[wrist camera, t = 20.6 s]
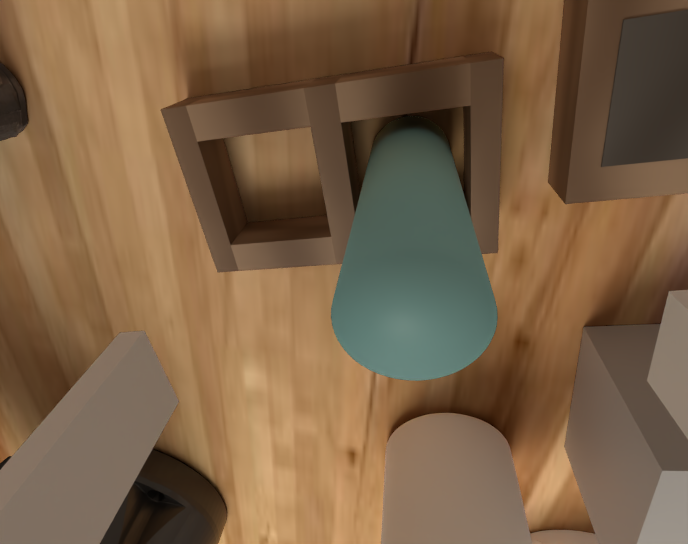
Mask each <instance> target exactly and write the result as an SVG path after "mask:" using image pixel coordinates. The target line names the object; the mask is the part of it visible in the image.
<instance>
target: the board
mask: <svg viewBox="0 0 688 544" xmlns="http://www.w3.org/2000/svg"><path fill="white" fill-rule="evenodd" d="M548 183H549V184H550V185H551V187H552V188H553V189H554V190H555V192H556V193H557V194H558V195H559V197H560V198H561V199H562V200H563V202H564V203H565V204H571V203H583V202H594V201H606V200H617V199H628V198H640V197H651V196H663V195H674V194H685V193H688V0H564V9H563V20H562V32H561V43H560V54H559V65H558V76H557V88H556V99H555V110H554V121H553V132H552V143H551V155H550V166H549V177H548Z"/></svg>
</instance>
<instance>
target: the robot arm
mask: <svg viewBox="0 0 688 544" xmlns="http://www.w3.org/2000/svg"><path fill="white" fill-rule="evenodd" d="M647 381H648V383H649V384H650V386H651V387H652V389H653V390H654V392H655V393H656V394H657V396H658V397H659V399H660V400H661V402H662V403H663V404H664V406H665V407H666V409H667V410H668V412H669V413H670V415H671V416H672V417H673V419H674V420H675V422H676V423H677V425H678V426H679V427H680V429H681V430H682V432H683V433H684V435H685V436H686V437H687V439H688V290H677V291H669V293H668V297H667V301H666V305H665V309H664V313H663V317H662V321H661V325H660V329H659V333H658V337H657V342H656V346H655V350H654V354H653V358H652V362H651V366H650V370H649V374H648V378H647ZM178 402H179V400H178V398H177V396H176V394H175V392H174V390H173V388H172V386H171V384H170V382H169V380H168V378H167V376H166V374H165V372H164V370H163V368H162V366H161V364H160V362H159V360H158V357H157V355H156V353H155V351H154V349H153V347H152V345H151V343H150V341H149V339H148V337H147V335H146V333H145V331H134V332H120V333H119V334H118V335H117V336H116V337H115V338H114V340H113V341H112V342H111V343H110V344H109V345H108V346H107V348H106V349H105V350H104V351H103V352H102V353H101V355H100V356H99V357H98V358H97V359H96V360H95V361H94V363H93V364H92V365H91V366H90V367H89V368H88V370H87V371H86V372H85V373H84V374H83V375H82V376H81V378H80V379H79V380H78V381H77V382H76V383H75V384H74V386H73V387H72V388H71V389H70V390H69V391H68V393H67V394H66V395H65V396H64V397H63V398H62V399H61V401H60V402H59V403H58V404H57V405H56V406H55V408H54V409H53V410H52V411H51V412H50V413H49V414H48V416H47V417H46V418H45V419H44V420H43V421H42V422H41V424H40V425H39V426H38V427H37V428H36V429H35V431H34V432H33V433H32V434H31V435H30V436H29V437H28V439H27V440H26V441H25V442H24V443H23V444H22V446H21V447H20V448H19V449H18V450H17V451H16V452H15V454H14V455H13V456H9V457H8V458H7V459H5V460H4V461H3V462H2V463H0V544H218V543H219V540H220V537H221V534H222V532H223V529H224V526H225V523H226V519H227V513H226V508H225V505H224V503H223V500H222V499H221V497H220V495H219V494H218V492H217V491H216V490H215V489H214V488H213V486H212V485H211V484H210V483H209V482H208V481H207V480H206V479H204V478H203V477H202V476H201V475H200V474H198V473H197V472H196V471H194V470H193V469H191V468H190V467H188V466H186V465H185V464H183V463H181V462H180V461H178V460H176V459H174V458H172V457H170V456H167V455H165V454H163V453H160V452H158V451H155V450H152V449H153V447H154V445H155V444H156V442H157V440H158V438H159V437H160V435H161V433H162V431H163V429H164V428H165V426H166V424H167V422H168V420H169V419H170V417H171V415H172V413H173V411H174V410H175V408H176V406H177V404H178Z"/></svg>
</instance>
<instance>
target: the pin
mask: <svg viewBox="0 0 688 544" xmlns="http://www.w3.org/2000/svg"><path fill="white" fill-rule="evenodd" d="M497 318H498V317H497V306H496V302H495V298H494V295H493V291H492V288H491V284H490V281H489V278H488V274H487V271H486V268H485V264H484V261H483V257H482V254H481V251H480V247H479V244H478V240H477V237H476V234H475V230H474V227H473V223H472V220H471V217H470V213H469V210H468V207H467V203H466V200H465V196H464V193H463V190H462V186H461V183H460V179H459V176H458V173H457V169H456V166H455V162H454V159H453V156H452V152H451V149H450V146H449V142H448V139H447V137H446V135H445V133H444V132H443V131H442V129H441V128H440V127H439V126H438V125H437V124H435V123H434V122H433V121H431V120H429V119H426V118H424V117H419V116H405V117H401V118H398V119H395V120H393V121H391V122H390V123H388V124H387V125H386V126H385V127H384V128H383V129H382V130H381V131H380V132H379V133H378V135H377V136H376V138H375V140H374V143H373V146H372V150H371V154H370V158H369V162H368V166H367V169H366V173H365V177H364V181H363V185H362V189H361V193H360V197H359V201H358V205H357V208H356V212H355V216H354V220H353V224H352V228H351V232H350V236H349V240H348V244H347V247H346V251H345V255H344V259H343V263H342V267H341V271H340V275H339V279H338V283H337V286H336V290H335V294H334V298H333V303H332V308H331V319H332V326H333V329H334V333H335V335H336V337H337V339H338V341H339V343H340V344H341V346H342V347H343V348H344V350H345V351H346V352H347V353H348V354H349V355H350V356H351V357H352V358H353V359H354V360H355V361H357V362H358V363H359V364H361V365H362V366H364V367H366V368H367V369H369V370H371V371H373V372H376V373H378V374H381V375H384V376H387V377H391V378H395V379H401V380H416V381H418V380H430V379H436V378H440V377H444V376H447V375H450V374H453V373H455V372H457V371H459V370H461V369H463V368H465V367H466V366H468V365H470V364H471V363H472V362H474V361H475V360H476V359H477V358H478V357H479V356H480V355H481V354H482V353H483V352H484V351H485V350H486V348H487V347H488V345H489V344H490V342H491V340H492V338H493V336H494V333H495V330H496V326H497Z"/></svg>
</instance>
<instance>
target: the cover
mask: <svg viewBox="0 0 688 544" xmlns="http://www.w3.org/2000/svg"><path fill="white" fill-rule="evenodd" d="M660 325H661V324H643V325H617V326H591V327H583V334H582V340H581V346H580V352H579V359H578V365H577V371H576V377H575V384H574V390H573V396H572V402H571V409H570V415H569V421H568V427H567V434H566V440H565V446H564V447H565V450H566V453H567V455H568V458H569V461H570V464H571V467H572V470H573V472H574V475H575V478H576V481H577V484H578V486H579V489H580V492H581V495H582V498H583V501H584V503H585V506H586V509H587V512H588V515H589V517H590V520H591V523H592V526H593V529H594V532H595V534H596V537H597V540H598V543H599V544H688V439H687V437H686V436H685V435H684V433H683V432H682V430H681V429H680V427H679V426H678V425H677V423H676V422H675V420H674V419H673V417H672V416H671V415H670V413H669V412H668V410H667V409H666V407H665V406H664V404H663V403H662V402H661V400H660V399H659V397H658V396H657V394H656V393H655V392H654V390H653V389H652V387H651V386H650V384H649V383H648V381H647V378H648V374H649V370H650V366H651V362H652V358H653V354H654V350H655V346H656V342H657V337H658V333H659V329H660Z"/></svg>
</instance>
